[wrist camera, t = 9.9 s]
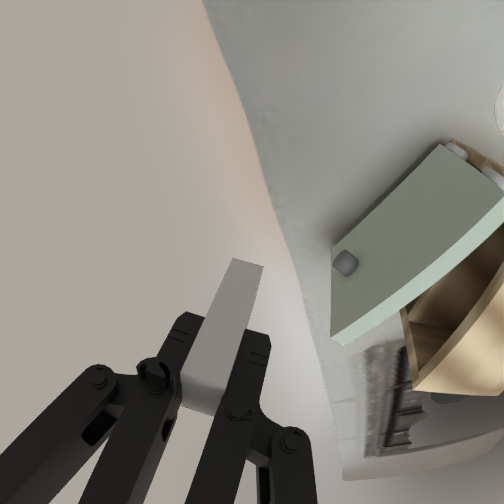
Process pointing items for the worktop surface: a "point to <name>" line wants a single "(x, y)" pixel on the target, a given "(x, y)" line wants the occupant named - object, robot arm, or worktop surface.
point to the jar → (447, 397)
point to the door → (412, 240)
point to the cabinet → (461, 319)
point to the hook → (500, 110)
